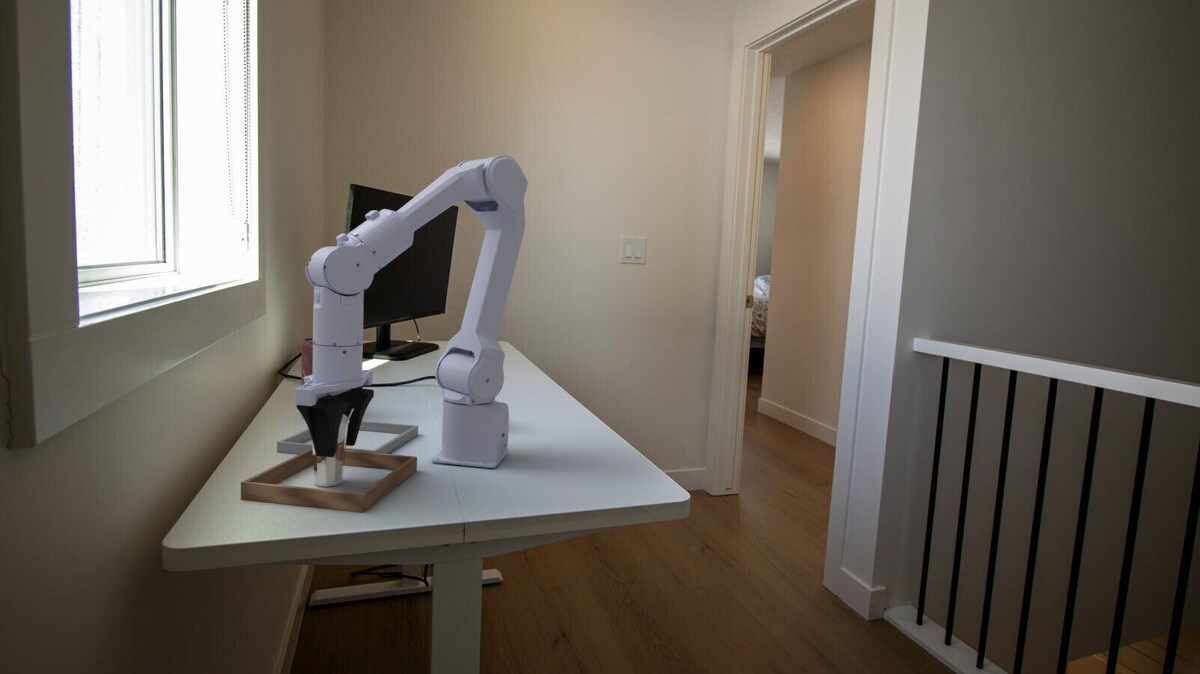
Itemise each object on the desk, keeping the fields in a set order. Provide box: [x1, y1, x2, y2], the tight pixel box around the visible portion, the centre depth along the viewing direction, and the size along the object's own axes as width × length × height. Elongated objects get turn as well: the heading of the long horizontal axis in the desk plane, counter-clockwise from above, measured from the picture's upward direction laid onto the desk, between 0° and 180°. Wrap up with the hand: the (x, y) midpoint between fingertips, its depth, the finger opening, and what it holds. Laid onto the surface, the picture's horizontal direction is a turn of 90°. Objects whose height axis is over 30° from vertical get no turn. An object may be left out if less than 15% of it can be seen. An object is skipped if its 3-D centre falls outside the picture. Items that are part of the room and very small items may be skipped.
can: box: [300, 337, 313, 387], centre depth 109 cm, size 6×6×14 cm
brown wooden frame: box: [240, 448, 418, 513], centre depth 78 cm, size 15×15×2 cm
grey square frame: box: [276, 420, 419, 455], centre depth 96 cm, size 15×15×2 cm
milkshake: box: [311, 408, 354, 488], centre depth 78 cm, size 4×5×10 cm
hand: (336, 450), depth 78 cm, fingers closed on milkshake, 4 cm apart
